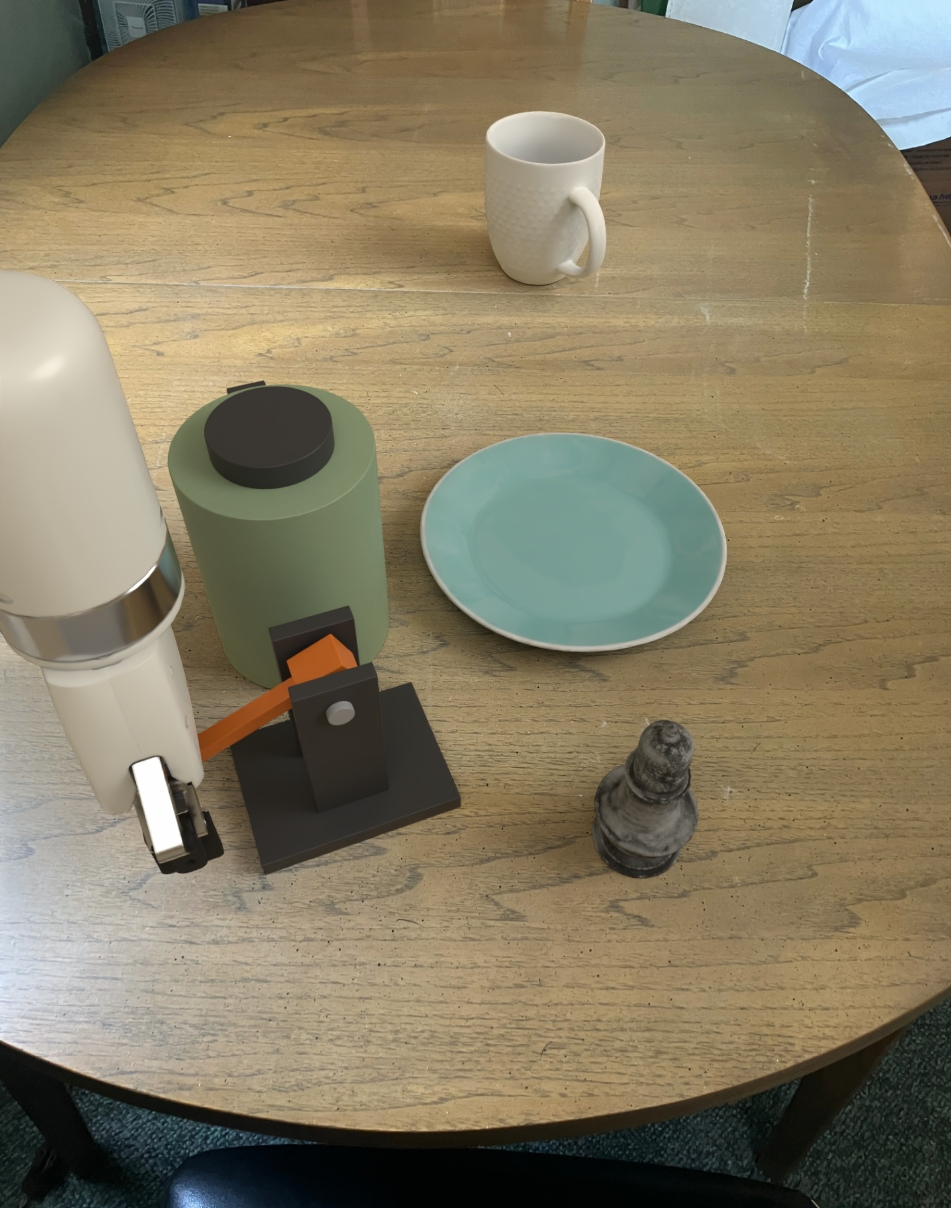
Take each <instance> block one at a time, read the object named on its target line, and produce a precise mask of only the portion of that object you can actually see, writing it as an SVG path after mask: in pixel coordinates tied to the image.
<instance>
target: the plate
mask: <svg viewBox="0 0 951 1208" xmlns="http://www.w3.org/2000/svg"><path fill="white" fill-rule="evenodd" d="M419 522H420V523H419V540H420V545H421V546H420V547H421V549H422V553H423V558H424V561H425V562H426V566H427V567H428V570H429V572H430V574H431V576H432V578H433V579H434V580H435V581H434V582H436V584H437V585H438V586H439V588H440V590H441V591H442V592H443V593H444V594H445V596H446V597H447V598H448V600H450V601H451V602H452V603H453V604H454V605H455V606H456V607H457V608H458V609H459V610H460V611H461V612H462V613H463V614H465V615H466V616H467V617H468V618H470V619H472V620H474V621H475V622H476V623H478V624H479V625H480V626H483V627H484V628H486V629H488V630H490V631H491V632H494V633H495V634H497V635H500V636H502V637H505V638H507V639H509V640H512V641H515V642H517V643H521V644H524V645H528V646H532V647H536V648H541V649H545V650H550V651H551V650H552V651H559V652H571V653H597V652H608V651H617V650H623V649H628V648H633V647H636V646H637V647H638V646H641V645H644V644H647V643H650V642H653V641H656V640H660V639H662V638H665V637H666V636H669V635H670V634H673V633H674V632H676V631H679V630H680V629H682V628H683V627H685V626H687V625H688V624H689V623H690V622H692V621H693V620H694V619H695V618H697V617H698V616H699V615H701V613H703V612H704V611H705V609H706V608H707V607H708V605H709V604H710V603H711V601H713V599H714V597H715V596H716V594H717V592H718V591H719V589H720V586H721V585H722V581H723V578H724V576H725V573H726V569H727V561H728V549H727V548H728V546H727V545H728V544H727V538H726V533H725V529H724V526H723V523H722V521H721V518H720V516H719V514H718V512H717V510H716V508H715V506H714V505H713V503H712V502H711V500H710V499H709V498H708V496H707V494H705V492H704V491H703V490H702V489H701V488H700V486H698V484H697V483H696V482H694V480H692V479H691V478H690V477H689V476H688V475H687V474H685V472H683V471H682V470H680V469H679V468H678V467H676V466H674V465H673V464H671V463H670V462H669V461H667V460H665V459H664V458H661V457H660V456H658V455H657V454H655V453H652V452H650V451H648V450H645V449H643V448H641V447H638V446H636V445H633V444H630V443H629V442H628V443H627V442H625V441H621V440H618V439H615V438H614V439H613V438H610V437H605V436H601V435H595V434H589V433H580V432H566V431H565V432H563V431H557V432H556V431H554V432H553V431H551V432H539V433H529V434H524V435H519V436H513V437H510V438H506V439H503V440H499V441H497V442H494V443H492V444H489V445H487V446H484V447H483V448H479V449H478V450H476V451H474V452H472V453H470V454H468V455H467V456H465V457H464V458H462V459H460V460H459V461H458V462H457V463H455V464H454V465H453V466H452V467H451V468H449V469H448V470H447V471H446V472H445V473H444V474H443V475H442V476H441V477H440V478H439V479H438V481H437V482H435V484H434V486H433V488H431V490H430V492H429V494H428V495H427V497H426V499H425V502H424V504H423V508H422V511H421V514H420V521H419Z"/></svg>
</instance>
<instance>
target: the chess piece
mask: <svg viewBox="0 0 951 1208" xmlns="http://www.w3.org/2000/svg"><path fill="white" fill-rule="evenodd" d="M694 755H695V742H694V738H693V735H692V733H690V731H689V730H688V728H686V727H685V726H683V725H682V724H680V723H678V722H676V721H674V720H670V719H660V720H654V721H653V722H651V723H650V724H648V725H647V726H646V727H645V728H644V729H643V731H642V732H641V734H640V737H639V740H638V744H637V747H636V748H634V749H633V750H632V751H631V752H630V753H629V754H628V756H627V758H626V759H625V763H624V764H620V765H619V766H617V767H615V768H613V769H611V770H610V771H608V772H607V773H606V774H605V775H604V776H603V777H602V779H601V780H600V782H599V784H598V785H597V787H596V790H595V794H594V798H593V807H594V808H593V809H594V815H595V817H594V819H593V824H592V828H591V829H592V830H591V832H592V834H591V835H592V843H593V845H594V848H595V851H596V852H597V854H598V856H599V857H600V858H601V860H602V861H603V862H604V863H605V864H606V865H607V866H608V867H609V868H610V869H612V870H613V871H615V872H617V873H619V874H620V875H623V876H626V877H629V878H634V879H650V878H654V877H659V876H660V875H662V874H664V873H666V872H667V871H669V870H670V869H671V868H672V867H673V866H674V865H675V863H676V862H677V860H678V858H679V857H680V854H681V853H682V849H683V848H684V847H685V846H686V845H687V844H688V843H689V842H690V841H691V840H692V838H693V836H694V834H695V832H696V831H697V828H698V823H699V817H700V814H699V805H698V801H697V798H696V797H695V795H694V792H693V790H692V789H691V788H690V786H691V782H692V771H691V767H690V766H691V764H692V761H693V758H694Z"/></svg>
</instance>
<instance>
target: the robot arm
mask: <svg viewBox="0 0 951 1208" xmlns="http://www.w3.org/2000/svg"><path fill="white" fill-rule="evenodd" d="M185 590H186V585H185V576H184V573H183V570H182V567H181V564H180V561H179V557H178V554H177V551H176V548H175V545H174V542H173V539H172V536H171V533H170V529H169V527H168V524H167V521H166V518H165V516H164V512H163V509H162V506H161V502H160V500H159V497H158V494H157V491H156V488H155V485H154V481H153V478H152V475H151V473H150V469H149V466H148V463H147V460H146V457H145V453H144V450H143V446H142V444H141V441H140V438H139V436H138V432H137V429H136V426H135V423H134V419H133V416H132V413H131V410H130V407H129V404H128V401H127V399H126V395H125V392H124V389H123V385H122V382H121V380H120V377H119V374H118V370H117V367H116V364H115V361H114V357H113V355H112V351H111V350H110V346H109V344H108V341H107V338H106V336H105V333H104V331H103V328H102V325H101V324H100V322H99V320H98V318H97V317H96V315H95V313H94V312H93V311H92V309H91V308H90V307H89V306H88V305H87V304H86V303H85V302H84V301H83V300H82V298H81V297H80V296H79V295H78V294H76V293H75V292H73V290H71V289H69V288H68V287H66V286H64V284H62V283H61V282H58V281H56V280H54V279H51V278H48V277H46V276H42V275H39V274H35V273H30V272H26V271H20V270H12V269H0V634H1V635H2V636H3V638H4V640H5V642H6V643H7V645H8V646H9V647H10V649H11V650H12V651H13V652H14V653H15V654H16V655H17V656H19V657H20V658H22V659H24V660H25V661H27V662H29V663H30V664H34V665H36V666H37V667H40V669H41V673H42V676H43V679H44V683H45V686H46V689H47V691H48V694H49V696H50V699H51V702H52V705H53V707H54V710H55V712H56V715H57V717H58V720H59V722H60V724H61V727H62V730H63V731H64V734H65V736H66V739H67V740H68V742H69V745H70V747H71V749H72V751H73V753H74V755H75V757H76V760H77V762H78V764H79V766H80V768H81V769H82V772H83V774H84V776H85V778H86V780H87V782H88V784H89V786H90V788H91V790H92V792H93V794H94V797H95V798H96V801H97V802H98V805H99V806H100V808H101V809H102V810H103V811H104V812H106V813H107V814H109V815H112V816H115V815H120V814H123V813H127V812H131V810H132V808H133V806H134V809H135V812H136V816H137V819H138V821H139V824H140V828H141V831H142V837H143V843H145V845H146V847H147V850H148V852H149V854H151V856H152V858H153V860H154V862H155V864H156V865H157V867H158V869H159V870H160V873H161V874H162V875H167V876H168V875H171V874H175V873H177V874H181V875H184V874H189V873H193V872H196V871H199V870H201V869H203V868H205V867H206V866H207V865H208V863H209V862H210V861H213V860H216V859H219V858H222V857H223V855H225V849H224V846H223V842H222V839H221V837H220V835H219V832H218V830H217V827H216V824H215V823H214V820H213V818H212V815H211V812H210V811H209V810H203V809H202V806H201V805H202V804H201V802H200V799H199V796H198V792H197V790H196V789H197V788H198V787H199V786H200V785H201V783H202V781H203V779H204V778H205V772H204V766H203V763H202V759H201V753H200V747H199V742H198V736H197V735H198V732H197V727H196V721H195V716H194V711H193V705H192V700H191V696H190V691H189V686H188V682H187V678H186V673H185V669H184V666H183V662H182V658H181V654H180V651H179V648H178V643H177V640H176V637H175V634H174V630H173V627H172V623H173V622H174V621H175V619H176V617H177V616H178V613H179V612H180V610H181V609H182V608H181V607H182V606H183V601H184V598H185V592H186V591H185ZM164 764H167V766H168V768H169V771H170V773H171V776H167V774H166V770H165V766H164ZM182 791H183V795H184V798H185V801H186V805H187V808H188V810H187V811H184V812H182V813H179V814H177V810H176V806H175V803H174V799H173V794H176V793H179V792H182Z"/></svg>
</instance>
